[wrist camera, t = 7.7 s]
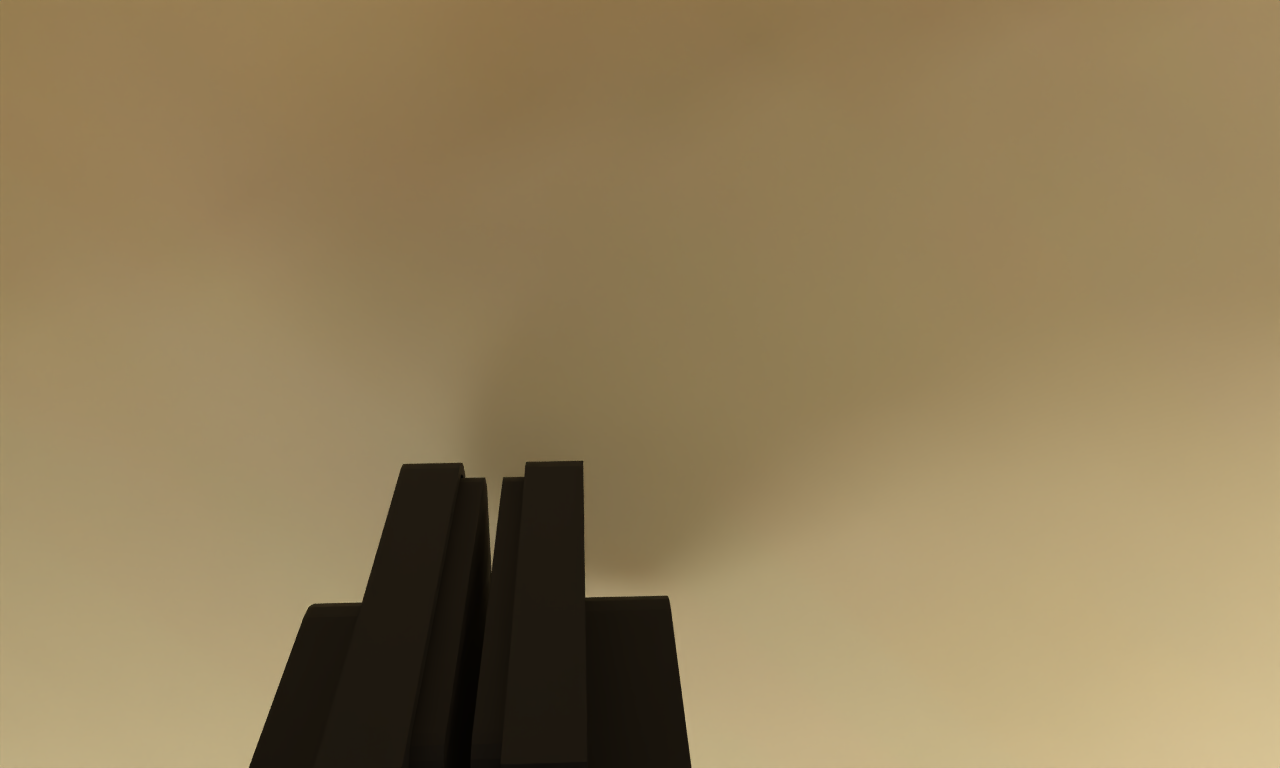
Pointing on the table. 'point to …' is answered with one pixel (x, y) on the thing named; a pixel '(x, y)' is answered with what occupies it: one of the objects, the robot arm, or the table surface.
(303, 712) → the robot arm
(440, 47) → the table surface
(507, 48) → the table surface
